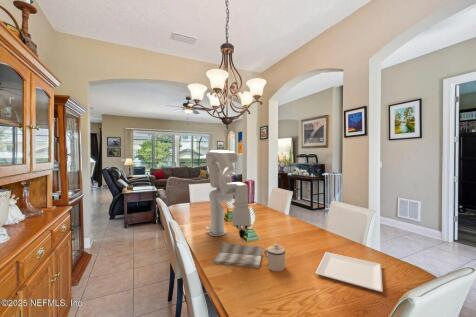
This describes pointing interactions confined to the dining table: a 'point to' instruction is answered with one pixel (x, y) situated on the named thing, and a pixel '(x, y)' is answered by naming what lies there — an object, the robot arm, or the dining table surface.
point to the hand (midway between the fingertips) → (242, 236)
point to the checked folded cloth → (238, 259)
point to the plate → (351, 271)
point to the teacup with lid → (275, 257)
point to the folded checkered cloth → (241, 249)
